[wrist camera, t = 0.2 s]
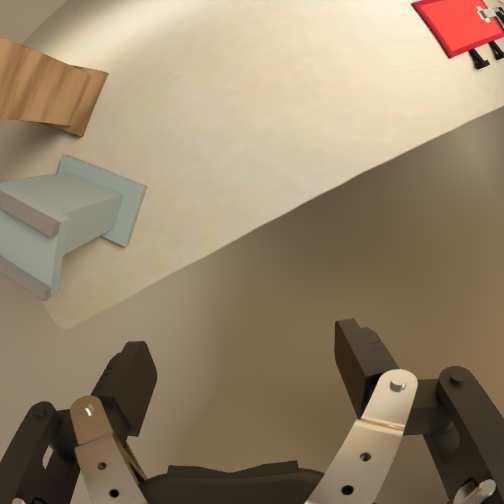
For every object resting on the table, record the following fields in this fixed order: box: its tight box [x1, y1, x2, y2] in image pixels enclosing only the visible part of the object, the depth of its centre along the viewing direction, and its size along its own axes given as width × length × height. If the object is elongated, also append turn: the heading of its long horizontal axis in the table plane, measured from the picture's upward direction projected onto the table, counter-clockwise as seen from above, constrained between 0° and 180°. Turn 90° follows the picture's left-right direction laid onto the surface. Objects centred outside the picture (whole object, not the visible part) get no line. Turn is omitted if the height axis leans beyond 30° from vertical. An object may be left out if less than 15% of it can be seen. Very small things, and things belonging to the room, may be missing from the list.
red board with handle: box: [412, 0, 504, 69], centre depth 27 cm, size 30×3×15 cm
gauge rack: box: [0, 155, 147, 301], centre depth 28 cm, size 15×9×21 cm, turn 66°
